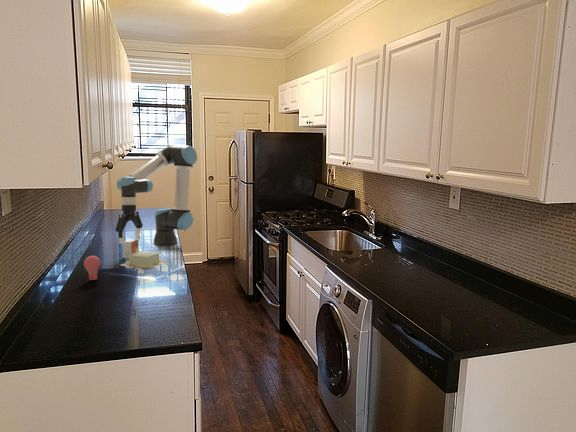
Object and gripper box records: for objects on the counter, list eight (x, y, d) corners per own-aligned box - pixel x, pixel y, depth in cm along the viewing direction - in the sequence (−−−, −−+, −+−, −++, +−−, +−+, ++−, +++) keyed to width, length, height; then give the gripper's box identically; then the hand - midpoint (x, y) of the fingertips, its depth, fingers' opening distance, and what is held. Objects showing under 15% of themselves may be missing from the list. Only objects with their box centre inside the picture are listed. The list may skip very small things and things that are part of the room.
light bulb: (94, 277, 213) (93, 253, 211) (104, 279, 210) (103, 255, 208) (81, 281, 207) (80, 256, 205) (91, 283, 204) (90, 258, 202)
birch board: (141, 259, 248) (141, 257, 248) (168, 262, 242) (168, 260, 242) (119, 267, 231) (119, 265, 231) (148, 270, 225) (148, 268, 225)
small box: (131, 260, 246) (131, 242, 244) (122, 259, 247) (122, 241, 245) (139, 257, 254) (138, 239, 252) (130, 256, 255) (129, 238, 253)
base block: (141, 259, 243) (140, 250, 242) (159, 261, 239) (159, 252, 239) (129, 264, 234) (128, 254, 233) (148, 266, 230) (147, 257, 229)
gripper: (137, 201, 258) (138, 237, 261) (107, 206, 235) (108, 244, 238) (148, 202, 256) (149, 238, 259) (118, 206, 233) (120, 245, 236)
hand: (129, 241), depth 248 cm, fingers open, 13 cm apart
